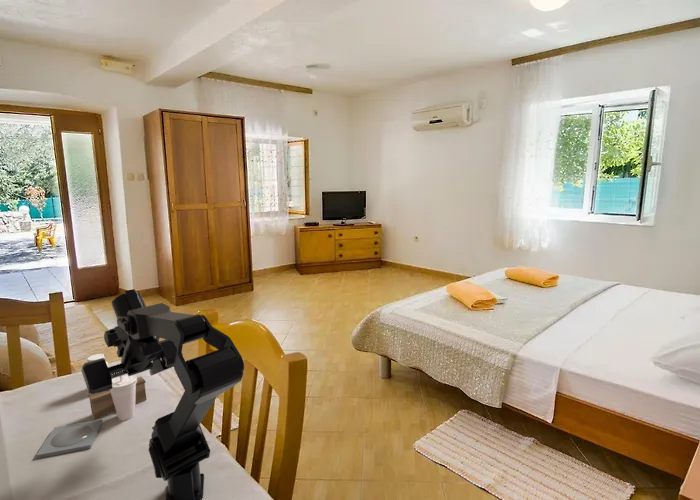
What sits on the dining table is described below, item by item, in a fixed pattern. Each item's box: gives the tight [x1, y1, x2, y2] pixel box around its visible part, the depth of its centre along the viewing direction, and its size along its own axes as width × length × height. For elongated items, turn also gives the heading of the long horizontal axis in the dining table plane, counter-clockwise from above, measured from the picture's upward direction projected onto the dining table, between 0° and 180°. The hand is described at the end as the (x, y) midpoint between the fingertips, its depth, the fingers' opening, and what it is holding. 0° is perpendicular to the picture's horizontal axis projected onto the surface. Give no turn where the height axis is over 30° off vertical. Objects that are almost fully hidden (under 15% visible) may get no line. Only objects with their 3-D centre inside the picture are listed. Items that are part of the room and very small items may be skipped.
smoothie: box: [110, 371, 138, 421], centre depth 98 cm, size 6×6×14 cm
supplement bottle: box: [87, 353, 110, 367], centre depth 112 cm, size 5×5×10 cm
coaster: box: [36, 418, 104, 459], centre depth 91 cm, size 10×10×1 cm
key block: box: [87, 375, 147, 420], centre depth 103 cm, size 3×12×6 cm, turn 135°
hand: (129, 380), depth 91 cm, fingers open, 9 cm apart
